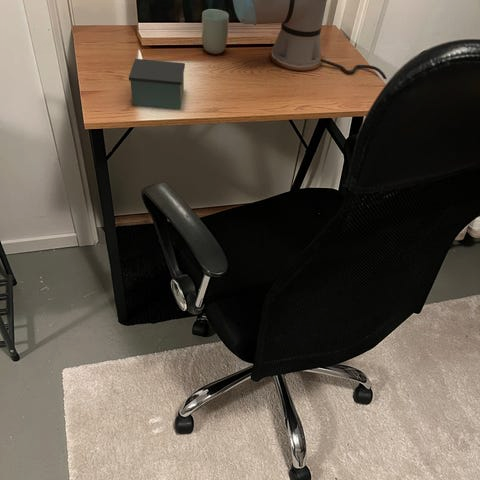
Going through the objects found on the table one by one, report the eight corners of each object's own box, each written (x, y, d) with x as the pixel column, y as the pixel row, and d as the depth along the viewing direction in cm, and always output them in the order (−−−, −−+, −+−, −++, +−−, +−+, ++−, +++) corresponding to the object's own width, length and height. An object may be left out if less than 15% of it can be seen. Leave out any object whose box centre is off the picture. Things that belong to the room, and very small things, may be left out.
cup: (223, 58, 138) (225, 21, 130) (198, 54, 139) (199, 16, 131) (229, 48, 143) (231, 11, 135) (204, 44, 143) (205, 7, 136)
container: (185, 90, 124) (184, 63, 118) (181, 110, 117) (181, 82, 112) (137, 86, 123) (135, 58, 117) (131, 105, 116) (128, 77, 111)
